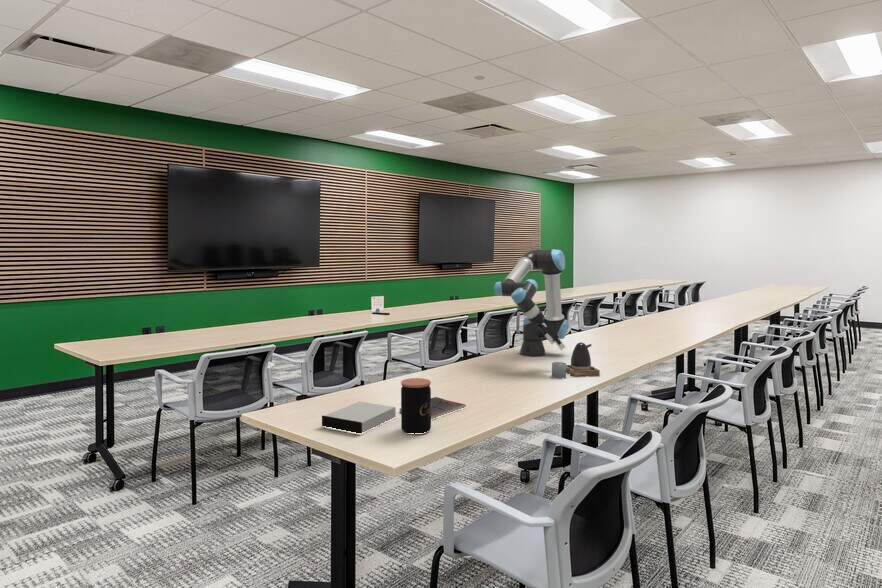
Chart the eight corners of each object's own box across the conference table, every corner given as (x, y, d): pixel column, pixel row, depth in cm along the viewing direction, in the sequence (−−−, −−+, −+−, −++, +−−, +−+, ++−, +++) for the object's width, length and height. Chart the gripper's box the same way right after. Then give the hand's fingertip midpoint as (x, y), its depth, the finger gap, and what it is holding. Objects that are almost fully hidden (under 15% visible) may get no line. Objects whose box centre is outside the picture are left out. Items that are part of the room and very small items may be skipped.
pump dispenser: (593, 373, 282) (594, 344, 281) (572, 373, 283) (573, 344, 281) (588, 369, 292) (589, 340, 291) (568, 369, 293) (569, 340, 291)
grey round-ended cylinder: (549, 375, 283) (549, 362, 282) (562, 375, 284) (562, 361, 283) (554, 379, 276) (555, 365, 275) (568, 378, 277) (568, 364, 277)
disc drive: (321, 429, 203) (321, 415, 203) (359, 412, 223) (359, 400, 223) (360, 436, 195) (360, 423, 195) (396, 419, 215) (395, 406, 214)
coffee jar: (423, 437, 193) (423, 386, 191) (396, 433, 197) (395, 383, 195) (435, 427, 203) (435, 379, 201) (408, 424, 207) (408, 376, 205)
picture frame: (435, 402, 238) (399, 414, 222) (435, 396, 238) (399, 408, 221) (465, 409, 227) (430, 422, 211) (465, 403, 227) (430, 416, 211)
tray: (563, 370, 294) (563, 365, 293) (588, 370, 295) (588, 364, 295) (572, 377, 280) (573, 371, 280) (599, 376, 282) (599, 370, 281)
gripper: (521, 315, 295) (544, 345, 299) (536, 323, 271) (561, 355, 275) (532, 306, 295) (555, 336, 299) (547, 313, 271) (573, 345, 275)
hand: (558, 345), depth 287 cm, fingers open, 13 cm apart
